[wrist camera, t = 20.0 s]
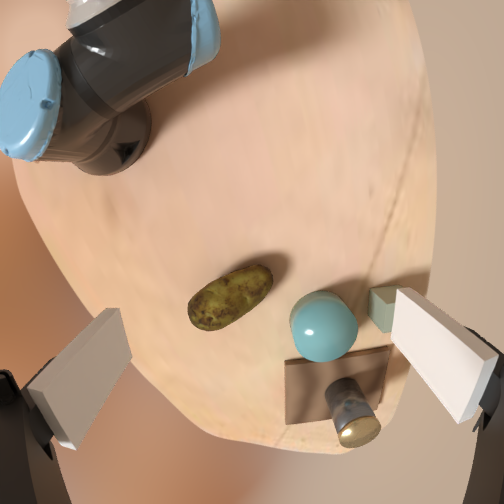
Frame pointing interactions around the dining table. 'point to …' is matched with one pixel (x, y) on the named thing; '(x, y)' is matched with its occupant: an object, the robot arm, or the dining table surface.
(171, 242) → the dining table surface
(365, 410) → the tea tin
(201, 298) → the potato
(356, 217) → the dining table surface
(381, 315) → the sage box
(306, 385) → the walnut board
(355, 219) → the dining table surface
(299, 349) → the teal domed cylinder
